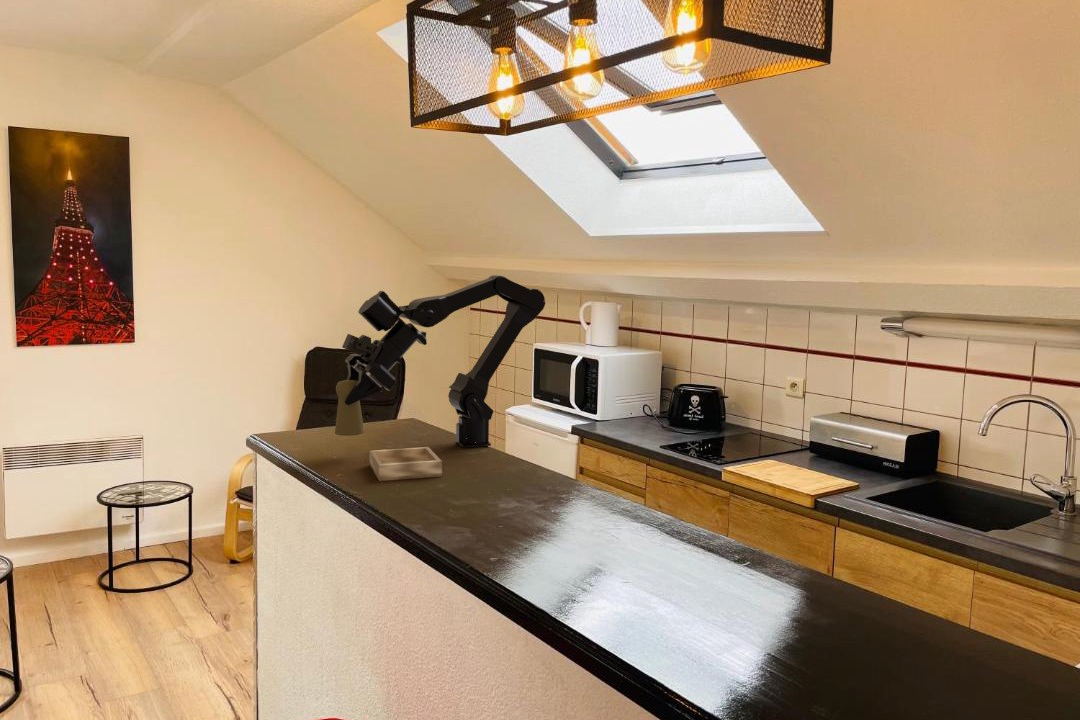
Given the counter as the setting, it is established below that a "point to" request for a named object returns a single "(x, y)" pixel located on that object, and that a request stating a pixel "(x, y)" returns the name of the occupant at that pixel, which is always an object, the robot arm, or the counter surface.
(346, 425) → the olive pepper mill
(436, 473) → the birch tray
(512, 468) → the counter surface
